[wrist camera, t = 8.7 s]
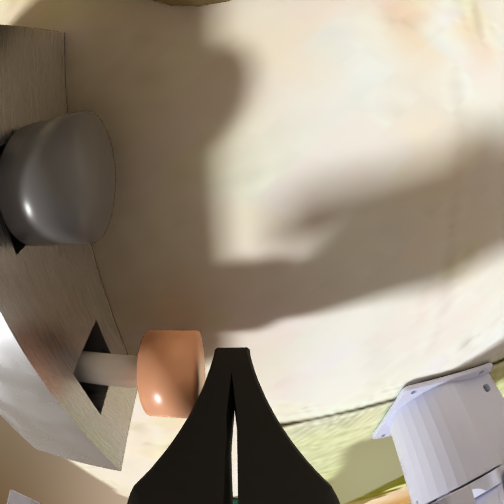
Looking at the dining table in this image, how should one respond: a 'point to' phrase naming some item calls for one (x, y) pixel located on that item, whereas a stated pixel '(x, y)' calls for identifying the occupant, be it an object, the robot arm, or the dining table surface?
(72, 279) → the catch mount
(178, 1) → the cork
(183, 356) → the terracotta knob
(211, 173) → the dining table surface
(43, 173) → the gray knob
